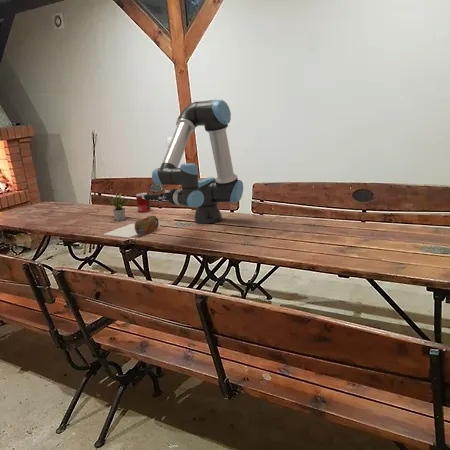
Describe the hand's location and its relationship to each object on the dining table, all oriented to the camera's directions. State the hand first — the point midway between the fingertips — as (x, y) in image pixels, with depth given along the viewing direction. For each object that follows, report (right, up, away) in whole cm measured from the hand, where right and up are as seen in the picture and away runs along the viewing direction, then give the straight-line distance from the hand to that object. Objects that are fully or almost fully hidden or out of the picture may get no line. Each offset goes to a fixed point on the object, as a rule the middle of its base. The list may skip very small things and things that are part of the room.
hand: (154, 194), depth 229 cm
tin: (-5, -20, +9) cm, 22 cm away
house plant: (-27, -13, +41) cm, 51 cm away
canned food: (-15, -7, +59) cm, 61 cm away
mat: (-15, -18, +15) cm, 28 cm away
